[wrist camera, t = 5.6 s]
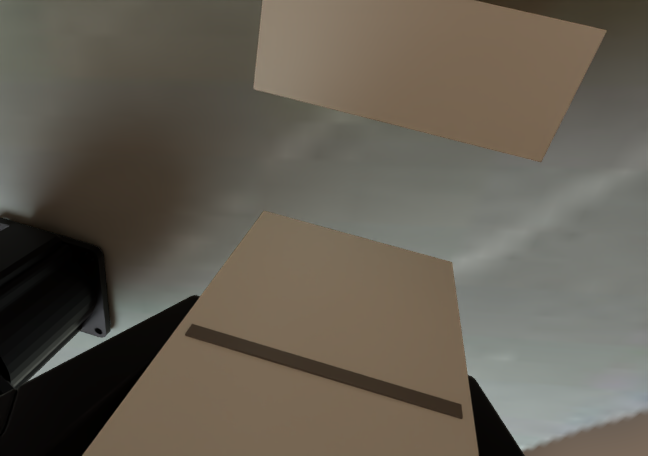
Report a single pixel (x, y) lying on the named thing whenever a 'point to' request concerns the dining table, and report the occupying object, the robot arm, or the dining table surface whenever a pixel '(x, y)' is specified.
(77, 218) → the dining table surface
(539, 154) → the domino
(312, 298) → the domino
